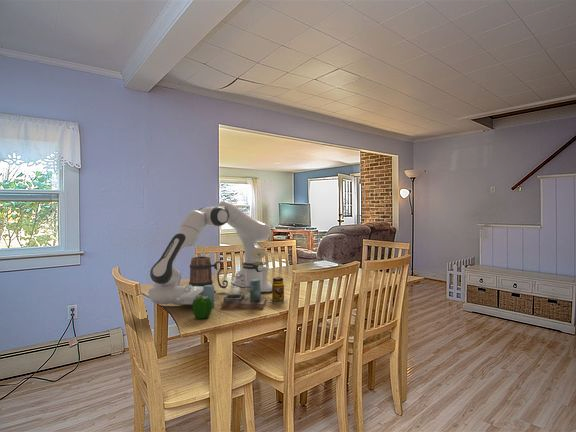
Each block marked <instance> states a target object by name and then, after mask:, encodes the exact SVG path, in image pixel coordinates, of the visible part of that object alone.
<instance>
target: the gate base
mask: <svg viewBox="0 0 576 432" xmlns="http://www.w3.org/2000/svg"><path fill="white" fill-rule="evenodd" d="M249 289H250V290H249V293H250V294H249V295H250V296H249V297H245V294H241V293H240V294H239V293H237V294H236V293H228V294H226V295H225V296H224V298H223V301H222V302H221V303H220V307H221V309H235V310H237V309H238V310H239V309H240V310H241V309H242V310H244V309H245V310H264V308H265V306H266V305H267V302H266V301H267V298H266V297H265V298H263V297H262V296H261V294H262V292H261V280H259V279H252V280H250V287H249Z"/></svg>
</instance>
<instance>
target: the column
mask: <svg viewBox="0 0 576 432" xmlns="http://www.w3.org/2000/svg"><path fill="white" fill-rule="evenodd" d="M214 290H215V285H213V284H212V285H205V286H203V296H204V295H208V298H210V300H211V301H212V309H213V308H214V307H215V294H214Z"/></svg>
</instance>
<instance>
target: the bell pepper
mask: <svg viewBox="0 0 576 432" xmlns="http://www.w3.org/2000/svg"><path fill="white" fill-rule="evenodd" d="M198 298H199V299H194V301H193V304H192V311H193V315H194V317H195V319H197V320H203V319H207V318H209V317H210V316H211V313H212V310H213V308H212V301H211V300H210V298H206V299H203V297H202V296H201V295H200V296H198Z"/></svg>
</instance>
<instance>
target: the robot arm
mask: <svg viewBox="0 0 576 432" xmlns="http://www.w3.org/2000/svg"><path fill="white" fill-rule="evenodd" d="M225 224H227V225H229V226H230V227H231V228H232V229H235V230H236V235H237V236H238V238H239V239H240V242H241V243H242V246H243V251H244V253H243V255H244V262H242V263H241V266H242V268H240V270H238V271H237V272H236V273H235V275H234V280H232V281H231V282H230V284H232V285H235V286H237V287H241V288H250V280H252V279H259V280H261V281H262V279H263V274H262V270H261V268H260V267H264V265H263V264H264V262H263V258H262V259H261V258H260V259H257V258H256V259H255V258H253V256H252V253H253V251H254V250H255V249H257V248H260V249H261V248H262V247H261V246H260V245H259V244H258V241H264V240H268V239H269V238H270V236H271V227H270V226H269V224H267V223H264V222H262V221H260V220H258V219H256V218H254V217H252V216H250V215H248V214H247V213H246V212H244V211H243V210H242V209H240V208H239V207H238V206H236V205H235V204H233V203H231V202H230V201H227V200H222V201H220V202H218V204H217V205H216V206H207V207H201V208H199V209H196V210H195V209H193V210H191V211H189V212H188V213H187V215H186V216H185V218H184V219H183V221H182V223H181V225H180V226H179V229H178V230H177V232H176V233H175V235H173V237H172V238H171V240H170V241H169V243H168V244H167V246H166V248H165V249H164V251H163V253H162V254H161V257H160V258H159V259H158V261H156V262H155V263H154V264H153V266H151V268H150V271H149V276H150V279H151V280H152V282H154V284H153V285H151V286H150V288H148V292H147V293H148V299H149V301H150V302H152V303H154V304H157V305H169V304H173V305H193V301H194V299H199V298H198V296H200V295H201V296H202V297H203V299H206V298H208V295H204V296H203V287H202V286H192V285H189V284H187V285H180V283H181V279H182V276H181V273H180V271H179V270H178V269H177V268H175V267H174V266H173V265H174V262H175V261H176V259H177V257H178V255H179V253H180V251H181V250H182V249H184V248H186V247H187V248H189V247H192V246H195V245H196V244H197V242H198V241H199V238H200V236H201V234H202V232H203V229H204V228H205V227H222V226H224V225H225ZM255 262H261V263H260V264H259V265H253V264H254V263H255ZM261 264H262V265H263V266H262V265H261Z"/></svg>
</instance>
